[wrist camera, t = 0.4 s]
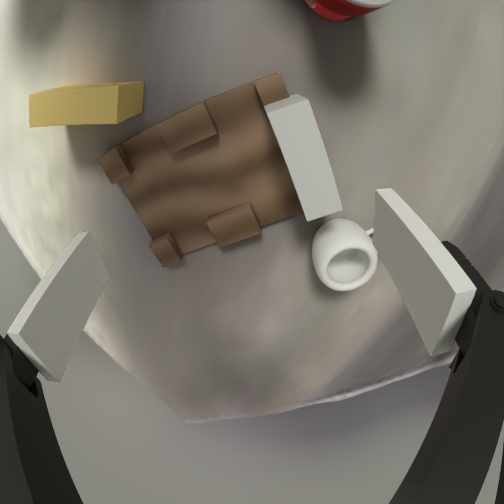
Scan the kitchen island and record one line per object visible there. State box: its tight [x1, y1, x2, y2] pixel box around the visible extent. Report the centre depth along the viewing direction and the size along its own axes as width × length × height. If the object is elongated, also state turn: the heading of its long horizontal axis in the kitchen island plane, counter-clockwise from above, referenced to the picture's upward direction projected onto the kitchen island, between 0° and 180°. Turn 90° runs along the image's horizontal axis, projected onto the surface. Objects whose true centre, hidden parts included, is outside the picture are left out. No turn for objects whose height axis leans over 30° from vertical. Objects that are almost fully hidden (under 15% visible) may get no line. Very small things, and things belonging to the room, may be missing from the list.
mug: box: [312, 219, 378, 291], centre depth 39 cm, size 12×8×8 cm
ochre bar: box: [29, 82, 144, 128], centre depth 28 cm, size 12×4×8 cm, turn 82°
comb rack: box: [98, 73, 304, 267], centre depth 36 cm, size 18×24×3 cm
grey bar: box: [264, 94, 343, 222], centre depth 31 cm, size 12×4×8 cm, turn 22°
